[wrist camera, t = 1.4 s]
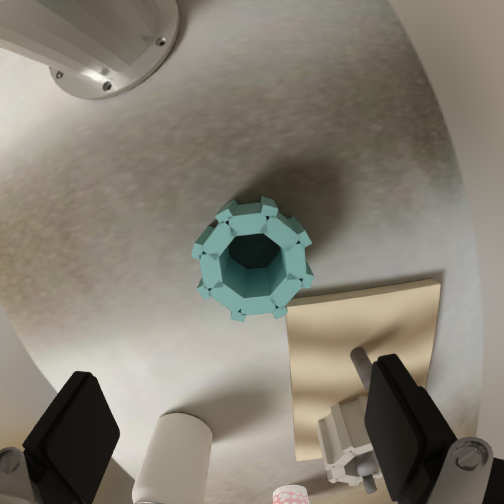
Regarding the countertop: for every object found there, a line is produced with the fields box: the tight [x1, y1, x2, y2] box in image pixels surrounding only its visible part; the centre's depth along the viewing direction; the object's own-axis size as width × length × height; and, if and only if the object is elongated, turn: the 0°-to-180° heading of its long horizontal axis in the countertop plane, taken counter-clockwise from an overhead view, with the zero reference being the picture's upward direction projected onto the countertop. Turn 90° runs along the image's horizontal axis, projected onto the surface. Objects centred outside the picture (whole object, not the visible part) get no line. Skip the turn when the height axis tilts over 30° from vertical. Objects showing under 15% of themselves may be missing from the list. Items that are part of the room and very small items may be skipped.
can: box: [132, 413, 212, 504], centre depth 25 cm, size 6×6×12 cm
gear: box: [316, 396, 383, 494], centre depth 25 cm, size 7×7×8 cm
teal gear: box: [191, 196, 314, 322], centre depth 22 cm, size 7×7×6 cm
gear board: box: [286, 278, 441, 461], centre depth 26 cm, size 20×14×6 cm
